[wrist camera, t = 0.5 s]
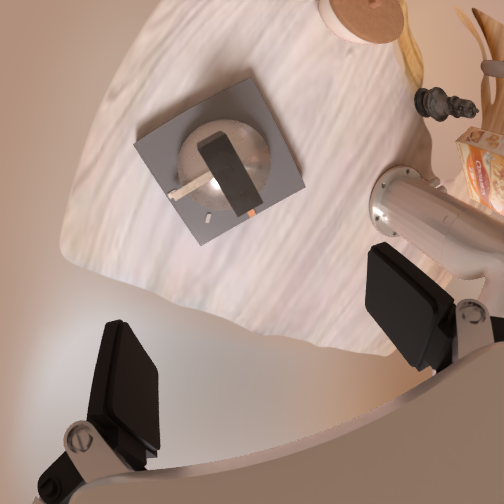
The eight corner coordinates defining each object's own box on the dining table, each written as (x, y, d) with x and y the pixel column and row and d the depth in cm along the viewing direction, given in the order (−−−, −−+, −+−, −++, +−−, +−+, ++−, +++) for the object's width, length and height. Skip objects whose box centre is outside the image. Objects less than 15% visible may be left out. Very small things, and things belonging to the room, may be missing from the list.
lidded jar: (318, -22, 23) (350, -46, 15) (378, 14, 27) (418, 1, 19) (296, 28, 28) (327, 7, 19) (361, 63, 31) (403, 57, 23)
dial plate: (248, 79, 30) (251, 77, 28) (300, 183, 38) (306, 187, 36) (136, 142, 31) (132, 144, 29) (200, 239, 39) (200, 246, 37)
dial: (242, 103, 30) (256, 100, 23) (281, 179, 35) (303, 196, 29) (150, 156, 30) (139, 167, 24) (197, 227, 36) (199, 255, 29)
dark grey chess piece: (413, 82, 33) (468, 86, 23) (435, 90, 34) (488, 97, 24) (412, 115, 36) (467, 126, 26) (434, 121, 37) (487, 134, 27)
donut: (475, 76, 33) (512, 80, 25) (471, 60, 32) (508, 63, 23) (494, 73, 33) (527, 78, 24) (490, 59, 31) (524, 63, 23)
